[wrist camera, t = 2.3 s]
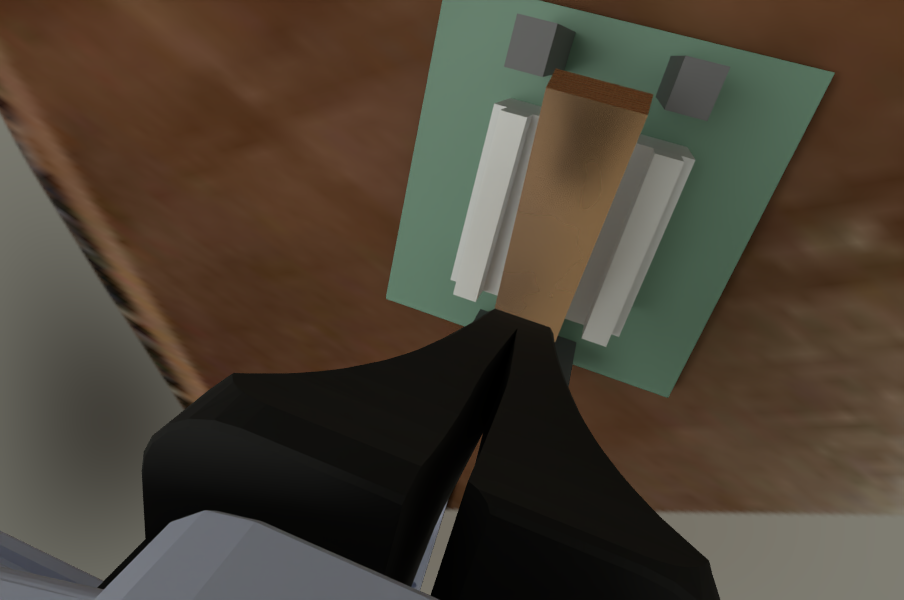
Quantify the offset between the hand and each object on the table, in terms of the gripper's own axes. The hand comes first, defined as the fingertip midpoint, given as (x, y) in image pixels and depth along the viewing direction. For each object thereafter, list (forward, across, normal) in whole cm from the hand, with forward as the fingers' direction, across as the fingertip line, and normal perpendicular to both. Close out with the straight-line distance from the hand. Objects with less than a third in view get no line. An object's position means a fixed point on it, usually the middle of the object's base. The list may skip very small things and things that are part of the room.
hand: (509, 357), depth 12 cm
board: (+10, 0, -1) cm, 10 cm away
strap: (+4, 0, -1) cm, 4 cm away
